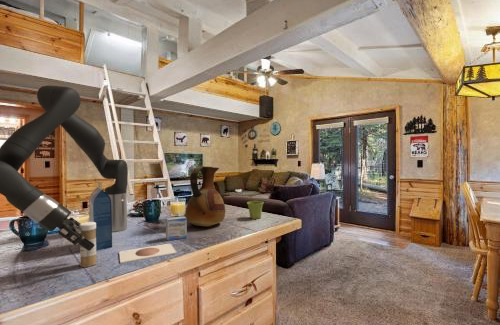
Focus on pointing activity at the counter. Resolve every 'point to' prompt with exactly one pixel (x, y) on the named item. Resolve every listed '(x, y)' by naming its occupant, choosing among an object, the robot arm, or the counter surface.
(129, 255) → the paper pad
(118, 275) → the counter surface
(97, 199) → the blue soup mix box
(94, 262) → the sprinkles bottle
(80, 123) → the robot arm
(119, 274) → the counter surface
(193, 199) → the ceramic pitcher
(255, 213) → the plant pot
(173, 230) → the medicine box
